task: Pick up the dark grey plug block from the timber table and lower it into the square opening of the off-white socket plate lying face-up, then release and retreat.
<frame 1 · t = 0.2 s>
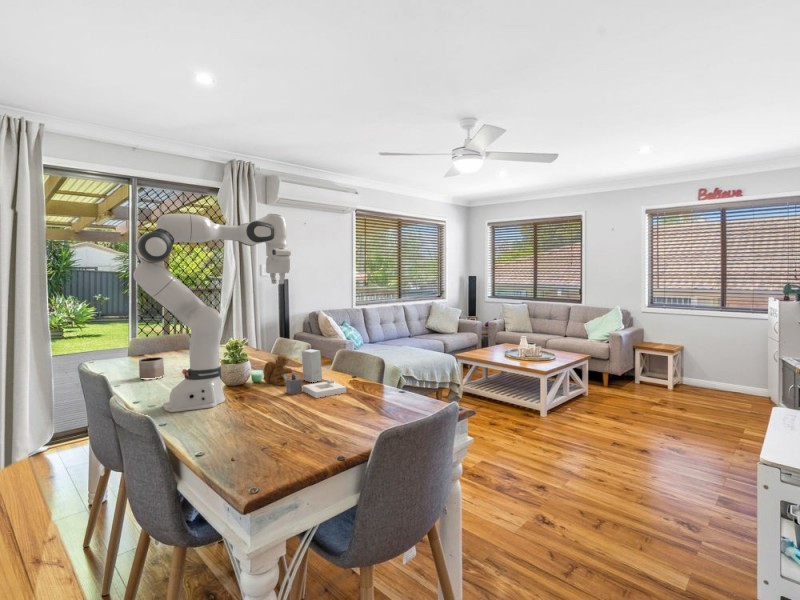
hand: (277, 283, 194), 47 cm above the table, fingers open, 8 cm apart
stuffed squirrel: (276, 383, 210), on the table
plug: (294, 392, 192), on the table
socket plate: (324, 391, 193), on the table
skincare box: (312, 381, 213), on the table
planter: (152, 378, 223), on the table
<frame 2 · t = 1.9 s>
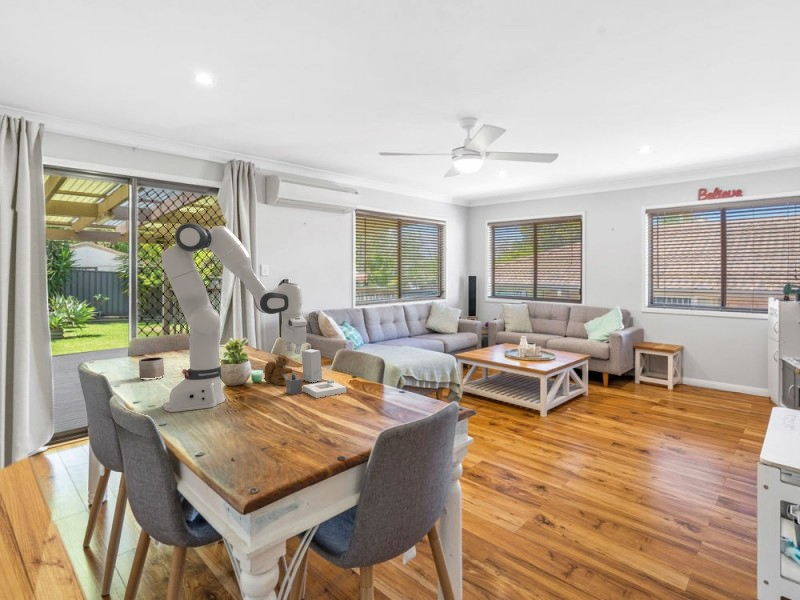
hand: (293, 352, 191), 18 cm above the table, fingers open, 8 cm apart
nothing on the table moved.
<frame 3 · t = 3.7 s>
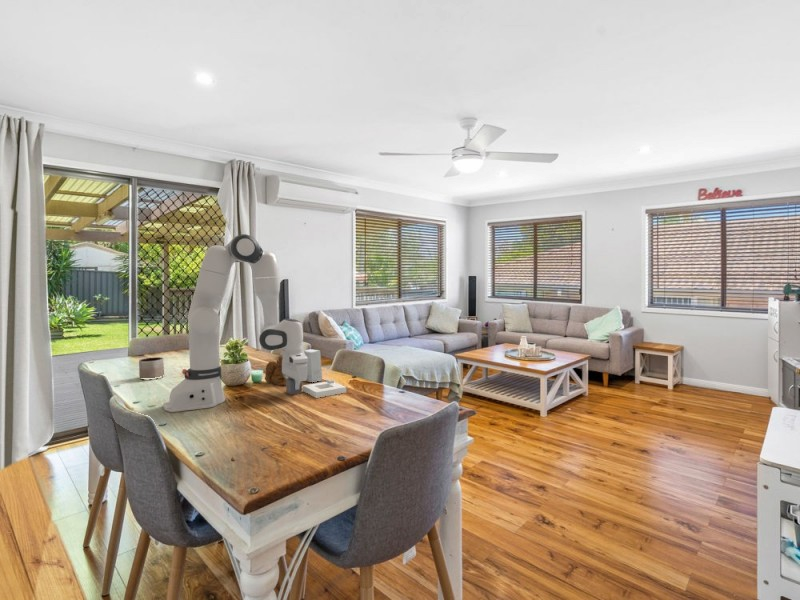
hand: (294, 387, 192), 2 cm above the table, fingers closed on plug, 5 cm apart
plug: (294, 392, 192), on the table, touching gripper
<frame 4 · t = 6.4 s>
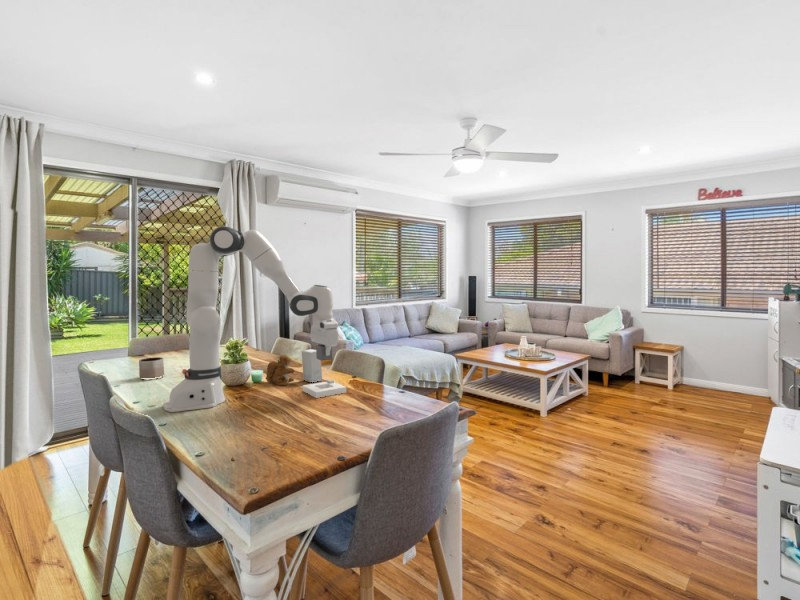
hand: (324, 354, 192), 16 cm above the table, fingers closed on plug, 5 cm apart
plug: (324, 359, 192), point 14 cm above the table, touching gripper
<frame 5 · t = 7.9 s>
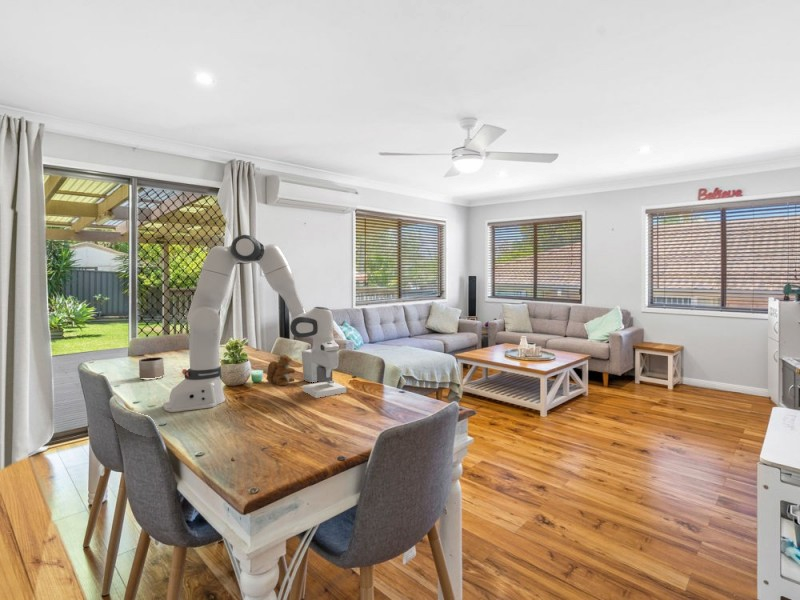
hand: (324, 375, 193), 7 cm above the table, fingers closed on plug, 5 cm apart
plug: (324, 380, 193), point 5 cm above the table, touching gripper
when the fingers open (4 cm above the table, at t = 9.1 s): plug drops 2 cm, resting in socket plate.
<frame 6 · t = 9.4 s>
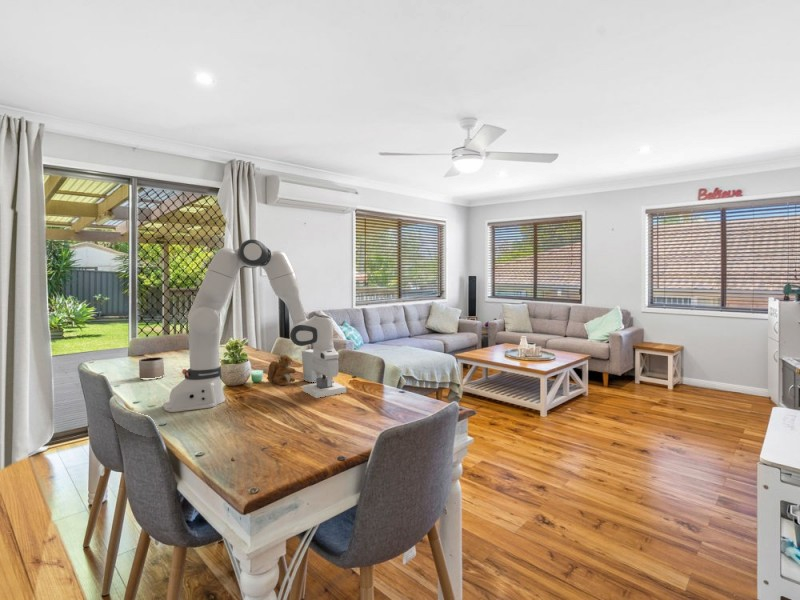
hand: (324, 383, 193), 4 cm above the table, fingers open, 8 cm apart
plug: (324, 392, 193), resting in socket plate
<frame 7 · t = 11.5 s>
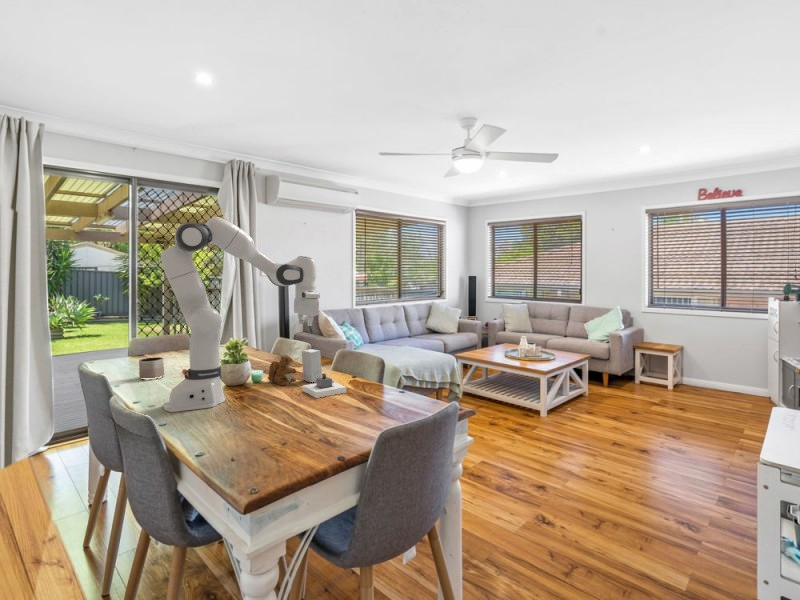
hand: (305, 324, 196), 29 cm above the table, fingers open, 8 cm apart
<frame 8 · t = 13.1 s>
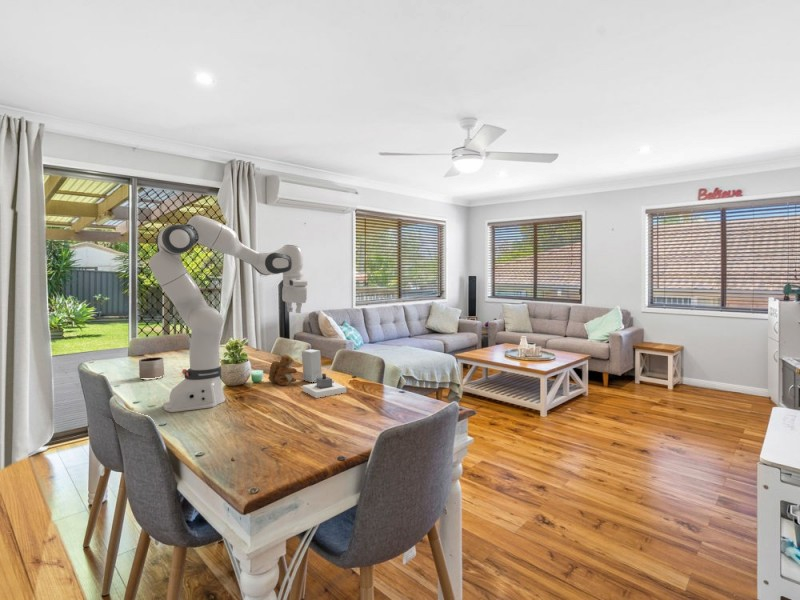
hand: (294, 312, 199), 34 cm above the table, fingers open, 8 cm apart
at the end: plug 0.0 cm off-centre on the socket plate, point 0.0 cm above the socket plate's base; plug tilted 0°; the gripper is holding nothing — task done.
